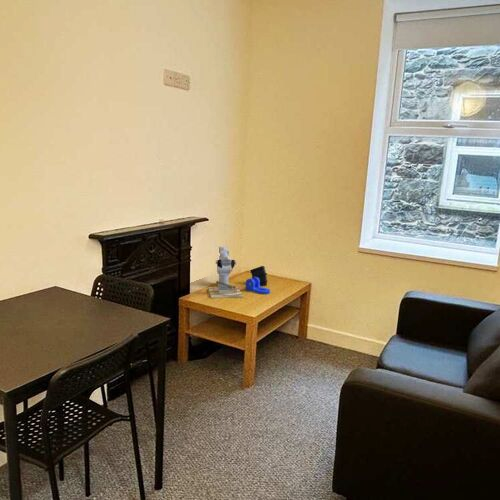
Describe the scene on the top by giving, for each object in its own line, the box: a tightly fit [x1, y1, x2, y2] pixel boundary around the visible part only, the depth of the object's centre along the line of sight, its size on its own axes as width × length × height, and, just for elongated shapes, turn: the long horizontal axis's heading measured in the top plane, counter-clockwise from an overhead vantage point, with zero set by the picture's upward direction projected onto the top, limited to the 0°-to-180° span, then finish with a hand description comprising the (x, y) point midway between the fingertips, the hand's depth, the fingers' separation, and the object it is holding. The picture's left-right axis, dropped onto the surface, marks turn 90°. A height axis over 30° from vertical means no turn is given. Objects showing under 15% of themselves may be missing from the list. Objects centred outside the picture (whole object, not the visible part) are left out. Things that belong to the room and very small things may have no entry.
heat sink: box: [217, 285, 233, 294], centre depth 314 cm, size 10×10×3 cm
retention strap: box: [215, 280, 237, 288], centre depth 313 cm, size 4×15×2 cm, turn 100°
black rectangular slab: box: [249, 265, 269, 287], centre depth 337 cm, size 4×13×15 cm, turn 66°
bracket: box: [244, 277, 271, 295], centre depth 322 cm, size 18×8×9 cm, turn 55°
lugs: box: [212, 285, 237, 293], centre depth 314 cm, size 6×17×4 cm, turn 101°
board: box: [208, 286, 244, 299], centre depth 314 cm, size 20×22×1 cm
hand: (227, 267), depth 308 cm, fingers open, 7 cm apart
